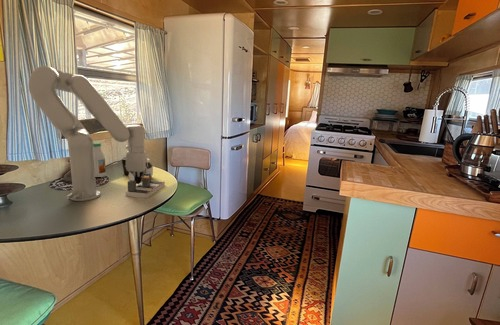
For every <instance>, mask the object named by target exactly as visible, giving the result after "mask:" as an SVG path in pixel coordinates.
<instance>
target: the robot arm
mask: <svg viewBox="0 0 500 325" xmlns="http://www.w3.org/2000/svg"><path fill="white" fill-rule="evenodd" d="M57 90H59V91H62V92H67V93H71V94H73V95H74V96H75V97H76V99H77V100H78V101H79V102H80V103H81V104H82V105H83V107H85V109H86V110H87V111H88V112H89V114H91V116H92V117H93V118H94V119H96V120H97V121H98V122H99V123H100V124H101V125H102V126H103V127H104V129H105V130H106V131H107V132H108V133H109V135H110V136H111V138H112V139H113V140H114V141H116V142H117V143H118V142H119V143H124V142H127V145H126V148H125V149H126V150H128V151H126V156H125V157H126V170H127V171H128V172H130V173H132V174H133V176H134V180H135V181H136V185H138V184H140V183H141V182H142V180H141V176H142V175H143V174H146V173H148V171H147V169H148V161H147V158H148V156H147V153H146V151H145V134H144V133H145V130H144V126H143V125H140V124H124V122H123V121H122V120H121V118H120V117H119V116H118V115H117V114H116V113H115V112H114V111H113V109H112V107H111V106H110V105H109V104H108V102H107V101H106V100H105V99H104V97H103V96H102V95H101V94H100V92H99V90H97V89H96V87H95V86H94V85H93V84H92V83H91V81H90V80H89V79H88V78H87V77H86V76H84V75H82V74H72V73H69V72H65V71H63V70H59V69H56V68H53V67H51V66H47V65H40V66H38V67H36V68H35V69H34V70H33V72H32V73H31V75H30V77H29V79H28V91H29V94H30V96H31V98H32V99H33V101H34V102H35V103H36V105H37V106H38V107H39V108H40V110H41V111H42V112H43V113H44V115H45V116H46V117H47V119H48V120H49V121H50V123H51V124H52V126H53V127H54V128H55V129H57V130H58V131H59V132H60V133H61V135H62V136H63V137H64V138H65V140H67V146H68V147H67V148H68V155H69V166H70V173H71V185H72V189H71V190H70V191H71V192H70V193H69V194H66V195H65V199H66V200H72V201H75V202H85V201H90V200H94V199H98V198H99V197H100V196H101V192H100V190H97V182H96V181H97V180H96V179H97V178H95V166H94V147H93V143H94V140H93V137H92V136H91V134H90V133H89V131H88V130H87V129H86V127H84V125H83V124H82V122H81V121H80V120H79V119H78V117H77V116H76V114H75V113H74V111H72V110H70V109H69V108H68V106H66V104H65V103H64V101H63V100H62V98H61V97H60V96H59V94H58V93H57Z"/></svg>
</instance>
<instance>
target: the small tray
mask: <svg viewBox="0 0 500 325" xmlns="http://www.w3.org/2000/svg"><path fill="white" fill-rule="evenodd" d="M143 176H149V177H150V186H148V187H144V186H142V181H141V183H139V184H136V181H133V180H130V179H129V180H128V181H127V190H126V191H125V197H133V198H134V197H135V198H143V199H148V198H149V197H150V196H152V195H153V194H155V193H156V192H157V191H159V190H161V189H162V188H164V187H165V181H157V180H156V181H155V180H152V177H151V173H146V174H143Z"/></svg>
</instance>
